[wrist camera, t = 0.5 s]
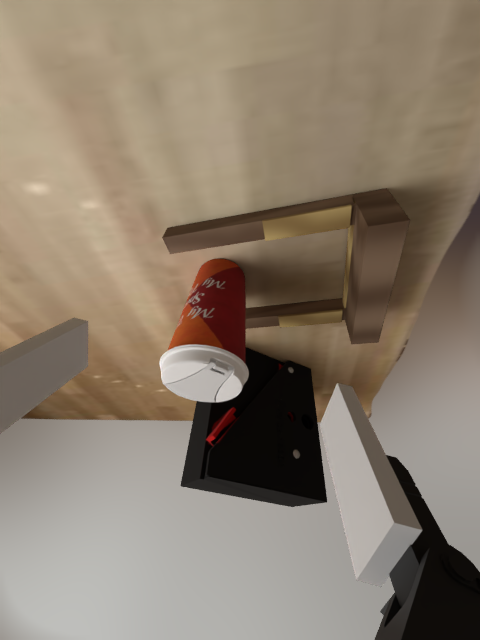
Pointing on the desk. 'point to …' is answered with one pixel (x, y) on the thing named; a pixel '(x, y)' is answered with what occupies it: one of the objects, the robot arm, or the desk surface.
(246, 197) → the desk surface
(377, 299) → the guide channel
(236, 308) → the coffee cup
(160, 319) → the desk surface
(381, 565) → the robot arm
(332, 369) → the desk surface
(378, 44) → the desk surface
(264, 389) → the electrical component
